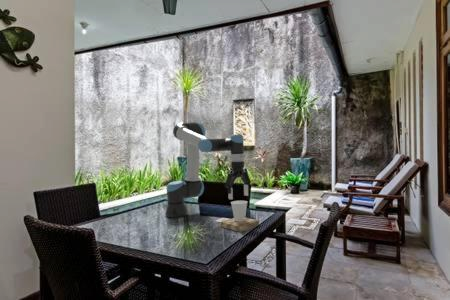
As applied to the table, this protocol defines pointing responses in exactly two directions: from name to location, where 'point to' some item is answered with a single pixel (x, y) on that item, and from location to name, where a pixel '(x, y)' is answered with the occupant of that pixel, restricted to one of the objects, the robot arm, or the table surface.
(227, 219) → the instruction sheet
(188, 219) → the table surface
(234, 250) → the table surface
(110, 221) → the table surface
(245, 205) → the cup
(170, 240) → the table surface
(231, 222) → the plinth block
